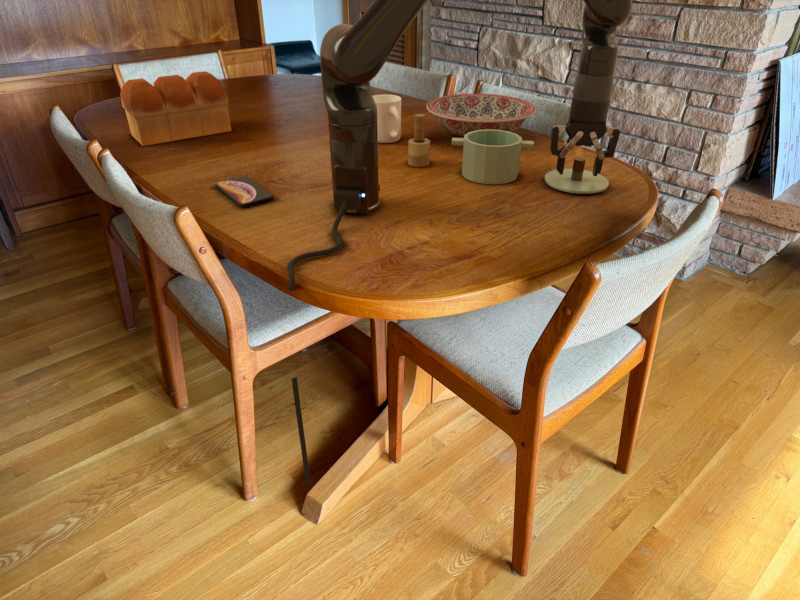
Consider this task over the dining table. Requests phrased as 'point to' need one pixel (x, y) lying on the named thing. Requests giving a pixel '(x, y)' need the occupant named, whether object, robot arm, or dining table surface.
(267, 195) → the smartphone
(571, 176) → the lid
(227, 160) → the dining table surface
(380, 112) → the mug
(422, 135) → the rubber stamp
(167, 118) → the bread
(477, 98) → the ceramic bowl
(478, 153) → the pot
